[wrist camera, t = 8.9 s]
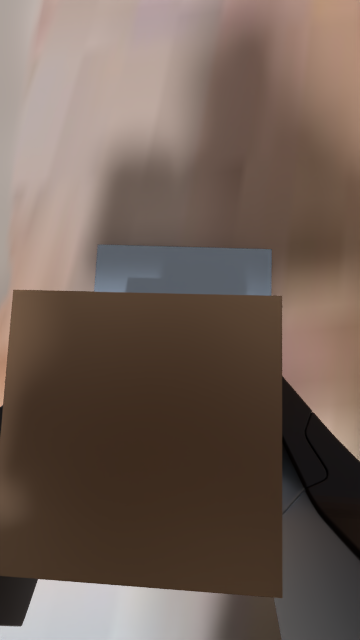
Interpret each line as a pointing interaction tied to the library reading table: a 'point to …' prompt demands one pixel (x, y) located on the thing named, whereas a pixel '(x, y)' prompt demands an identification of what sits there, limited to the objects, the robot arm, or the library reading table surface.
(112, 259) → the blueprint board
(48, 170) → the library reading table surface
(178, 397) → the walnut column
